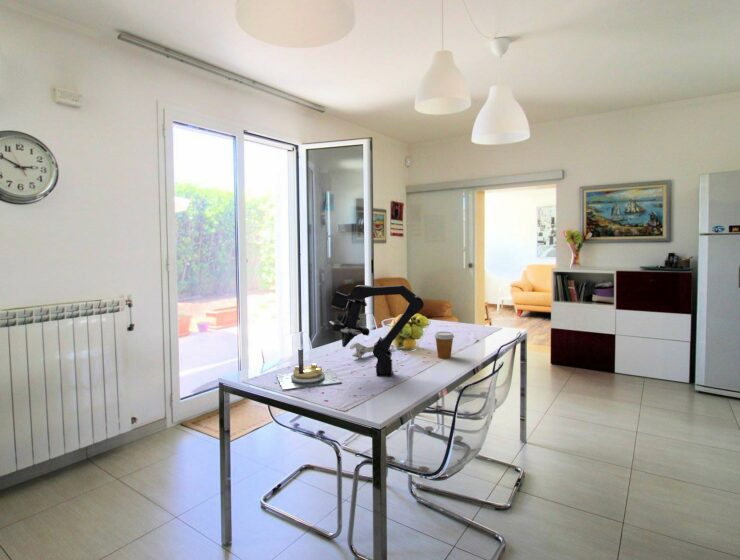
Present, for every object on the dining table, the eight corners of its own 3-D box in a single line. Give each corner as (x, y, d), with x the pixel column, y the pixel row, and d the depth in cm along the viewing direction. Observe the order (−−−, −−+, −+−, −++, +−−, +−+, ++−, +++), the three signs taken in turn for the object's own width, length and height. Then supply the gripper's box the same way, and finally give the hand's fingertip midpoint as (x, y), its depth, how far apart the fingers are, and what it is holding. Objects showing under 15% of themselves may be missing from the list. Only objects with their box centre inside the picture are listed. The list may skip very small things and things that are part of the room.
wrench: (393, 355, 231) (351, 359, 210) (390, 354, 232) (348, 359, 212) (394, 340, 231) (352, 343, 210) (391, 339, 232) (350, 342, 212)
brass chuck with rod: (327, 375, 180) (326, 347, 179) (301, 381, 173) (300, 351, 172) (313, 368, 190) (313, 342, 189) (288, 373, 183) (287, 346, 182)
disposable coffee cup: (448, 353, 220) (448, 330, 219) (457, 358, 211) (457, 334, 210) (431, 355, 218) (431, 332, 217) (439, 360, 209) (439, 336, 208)
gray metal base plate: (330, 370, 195) (329, 365, 195) (341, 383, 176) (341, 378, 176) (276, 376, 187) (276, 371, 187) (282, 390, 169) (282, 385, 168)
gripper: (362, 311, 199) (353, 342, 200) (327, 304, 189) (317, 338, 190) (374, 318, 190) (364, 351, 191) (337, 311, 180) (327, 346, 181)
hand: (343, 346), depth 188 cm, fingers closed
